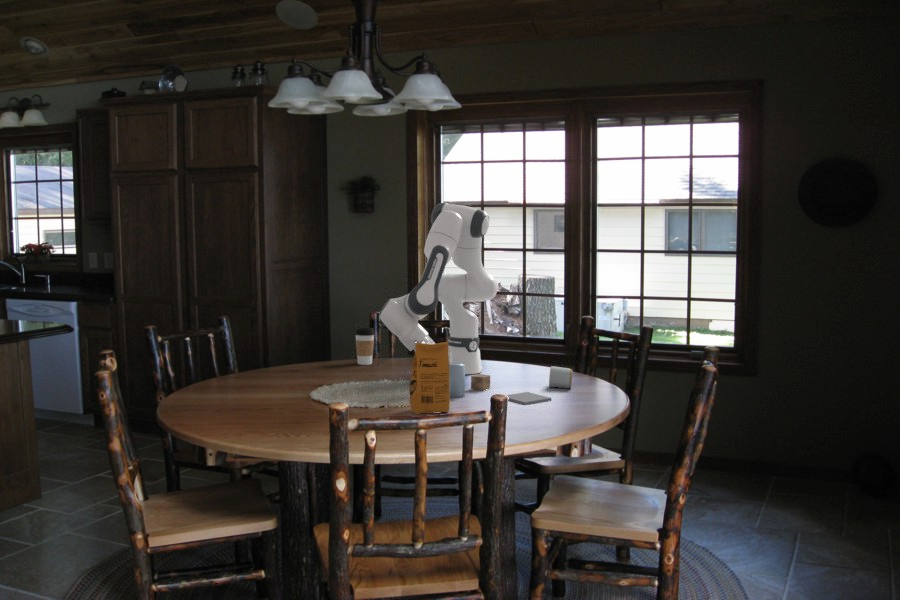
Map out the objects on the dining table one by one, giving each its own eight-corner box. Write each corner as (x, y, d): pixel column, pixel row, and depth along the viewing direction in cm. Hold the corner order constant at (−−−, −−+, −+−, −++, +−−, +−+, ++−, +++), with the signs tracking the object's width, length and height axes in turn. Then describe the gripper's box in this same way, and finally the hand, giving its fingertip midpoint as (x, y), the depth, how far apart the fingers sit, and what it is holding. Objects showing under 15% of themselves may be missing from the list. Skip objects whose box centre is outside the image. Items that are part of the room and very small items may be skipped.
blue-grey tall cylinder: (445, 395, 292) (445, 363, 291) (457, 393, 296) (458, 362, 294) (455, 398, 288) (455, 366, 287) (467, 396, 291) (468, 364, 290)
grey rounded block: (571, 390, 303) (572, 368, 303) (548, 388, 305) (549, 367, 304) (572, 384, 314) (573, 364, 313) (550, 383, 315) (550, 363, 315)
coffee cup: (353, 365, 349) (353, 329, 347) (356, 361, 357) (356, 326, 356) (373, 365, 348) (373, 329, 347) (376, 362, 357) (376, 326, 355)
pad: (501, 398, 288) (501, 396, 288) (527, 394, 295) (527, 391, 295) (525, 404, 279) (525, 402, 279) (551, 400, 286) (551, 397, 286)
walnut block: (470, 389, 303) (471, 376, 302) (478, 387, 307) (478, 373, 306) (482, 391, 300) (483, 377, 299) (490, 389, 304) (490, 375, 304)
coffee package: (408, 408, 272) (408, 340, 270) (445, 406, 275) (446, 339, 272) (412, 415, 263) (412, 345, 260) (451, 413, 265) (452, 344, 263)
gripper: (419, 336, 280) (448, 366, 280) (425, 328, 300) (452, 356, 301) (406, 349, 281) (435, 379, 281) (412, 341, 301) (440, 368, 301)
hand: (444, 367), depth 291 cm, fingers open, 8 cm apart
